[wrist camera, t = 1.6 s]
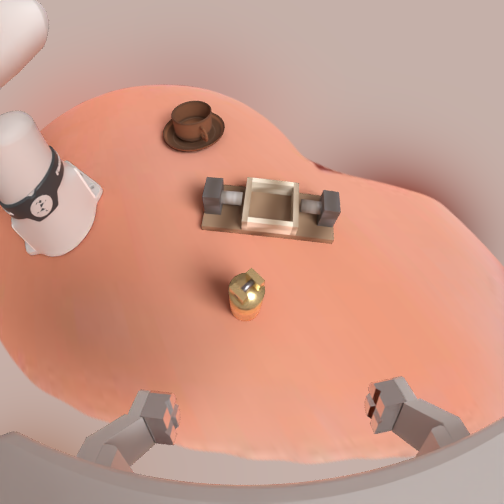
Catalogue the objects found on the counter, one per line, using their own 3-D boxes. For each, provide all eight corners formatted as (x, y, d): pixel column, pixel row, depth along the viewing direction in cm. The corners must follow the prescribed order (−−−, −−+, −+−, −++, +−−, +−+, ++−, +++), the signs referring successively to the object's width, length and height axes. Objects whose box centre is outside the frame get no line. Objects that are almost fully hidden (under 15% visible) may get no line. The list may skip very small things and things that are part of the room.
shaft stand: (202, 229, 43) (197, 209, 38) (211, 188, 47) (208, 166, 42) (331, 243, 43) (342, 225, 38) (329, 201, 47) (339, 181, 42)
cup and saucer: (237, 131, 53) (237, 107, 48) (194, 166, 49) (190, 141, 43) (194, 110, 56) (191, 88, 50) (152, 141, 52) (146, 118, 46)
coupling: (224, 306, 39) (219, 283, 30) (245, 287, 40) (247, 259, 31) (244, 327, 38) (246, 310, 28) (265, 307, 39) (274, 284, 30)
